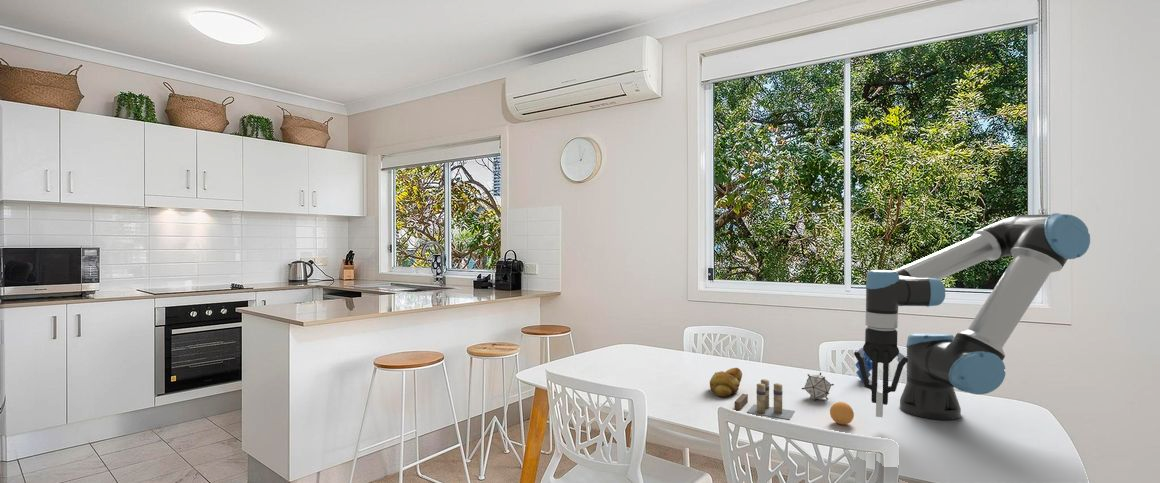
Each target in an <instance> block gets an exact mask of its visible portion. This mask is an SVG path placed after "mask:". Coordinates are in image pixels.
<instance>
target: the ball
mask: <svg viewBox="0 0 1160 483" xmlns="http://www.w3.org/2000/svg"><path fill="white" fill-rule="evenodd" d="M829 415H830V418H831V419H832V421H834V422H835V423H837V424H839V425H848V424H850V423H851V422H853V420H854V416H855V413H854V409H853V408H852V407H851V405H850V404H848V403H847V402H843V401H836V402H835V403H833V404H832V405H831V407H830V408H829Z"/></svg>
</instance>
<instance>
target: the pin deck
mask: <svg viewBox="0 0 1160 483" xmlns="http://www.w3.org/2000/svg"><path fill="white" fill-rule="evenodd" d="M795 412H796V411H795V410H791V409H785V408H782V414H776V413H774V406H773V407H772V406H769V409H765V414H761V415H760V414H759V413H757V404H753V405H752V406H751V407H750V408H749V409H748V410H747V411H746V413H748V414H752V415H758V416H764V417H770V418H776V417H777V418H776V419H781V418H783V420H787V419H789V420H788V421H790V420H791V419H790V418H792V417H793V415H794V414H795Z"/></svg>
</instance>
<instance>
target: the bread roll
mask: <svg viewBox="0 0 1160 483" xmlns="http://www.w3.org/2000/svg"><path fill="white" fill-rule="evenodd" d="M742 377H743V371H742V370H741V369H740V368H739V367H732V368H729V369H727V370H726V371H723V370H721V371H715V373H714V374H713V375H712V376H711V378H710V380H709V388H710V390H711V392H713V393H714V394H715V395H716V396H718V397H722V398H723V397H725V398H726V397H730V396H731V395H734V394H736V393H737V392H738V391H739V390H740V389H739V387H740V385H741V381H742Z"/></svg>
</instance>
